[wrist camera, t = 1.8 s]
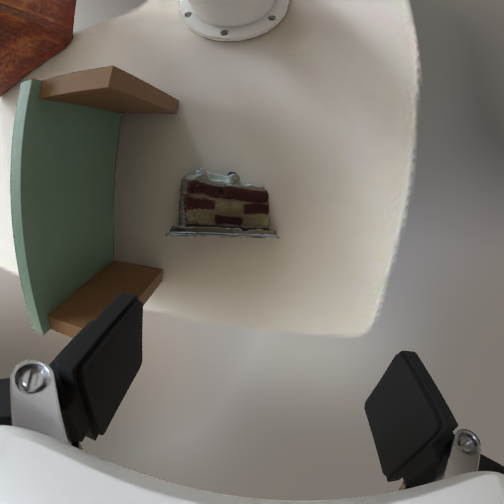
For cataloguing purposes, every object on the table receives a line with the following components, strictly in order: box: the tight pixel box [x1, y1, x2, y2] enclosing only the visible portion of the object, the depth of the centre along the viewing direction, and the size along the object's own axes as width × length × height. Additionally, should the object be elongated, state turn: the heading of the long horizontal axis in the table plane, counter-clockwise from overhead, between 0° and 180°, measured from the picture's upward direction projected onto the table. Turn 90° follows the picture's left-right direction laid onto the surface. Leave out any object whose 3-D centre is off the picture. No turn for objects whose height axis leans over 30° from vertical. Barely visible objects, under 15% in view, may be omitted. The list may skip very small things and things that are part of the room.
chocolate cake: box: [166, 168, 279, 238], centre depth 29 cm, size 10×7×12 cm
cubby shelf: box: [10, 66, 178, 338], centre depth 23 cm, size 22×9×16 cm, turn 171°
